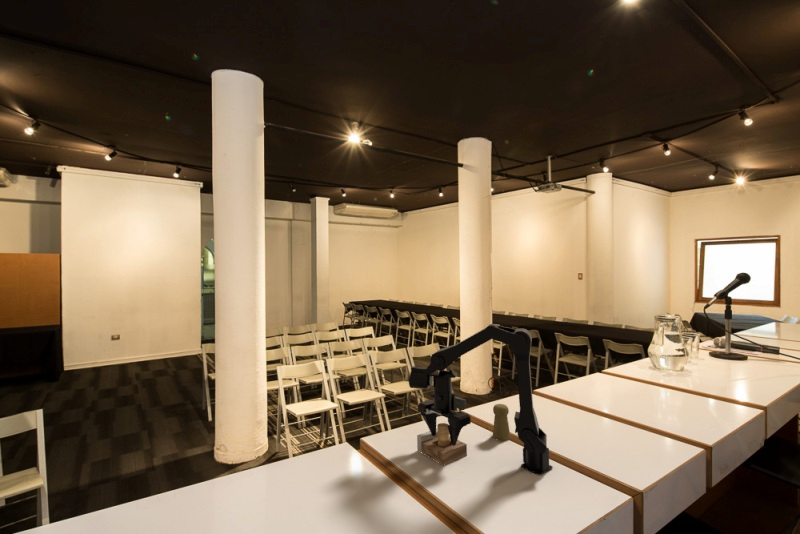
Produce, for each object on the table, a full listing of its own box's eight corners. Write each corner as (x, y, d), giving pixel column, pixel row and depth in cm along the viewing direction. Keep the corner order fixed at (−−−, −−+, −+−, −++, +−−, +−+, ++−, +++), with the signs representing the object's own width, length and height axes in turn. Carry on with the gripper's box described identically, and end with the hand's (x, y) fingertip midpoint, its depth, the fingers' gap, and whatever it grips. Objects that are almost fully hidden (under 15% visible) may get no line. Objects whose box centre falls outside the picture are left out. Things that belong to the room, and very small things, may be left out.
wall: (442, 445, 129) (442, 430, 129) (421, 453, 124) (421, 437, 124) (438, 443, 131) (438, 428, 131) (417, 451, 125) (417, 435, 125)
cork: (506, 442, 130) (505, 409, 130) (489, 438, 134) (488, 405, 134) (513, 436, 135) (512, 404, 135) (496, 432, 139) (495, 401, 139)
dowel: (452, 451, 122) (451, 425, 122) (443, 454, 120) (442, 428, 120) (444, 447, 125) (443, 422, 125) (435, 450, 123) (435, 425, 123)
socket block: (466, 455, 121) (466, 444, 122) (443, 465, 116) (442, 453, 116) (444, 444, 130) (444, 433, 130) (421, 453, 124) (421, 442, 124)
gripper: (482, 392, 120) (484, 443, 120) (441, 379, 135) (442, 425, 135) (456, 399, 114) (457, 453, 113) (416, 385, 129) (417, 433, 128)
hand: (443, 440), depth 123 cm, fingers open, 9 cm apart
